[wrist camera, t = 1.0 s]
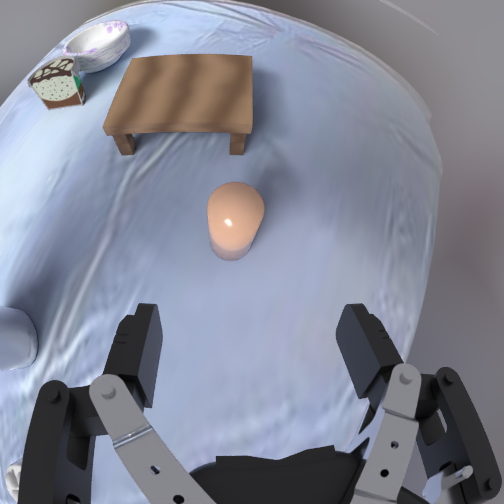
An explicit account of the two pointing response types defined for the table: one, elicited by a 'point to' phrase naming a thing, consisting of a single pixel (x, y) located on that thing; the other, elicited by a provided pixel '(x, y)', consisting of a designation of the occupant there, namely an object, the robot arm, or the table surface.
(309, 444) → the table surface
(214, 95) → the footstool
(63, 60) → the food container
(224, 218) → the peach rounded cylinder
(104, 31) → the paper bowls
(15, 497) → the lumpy-topped squat cylinder
